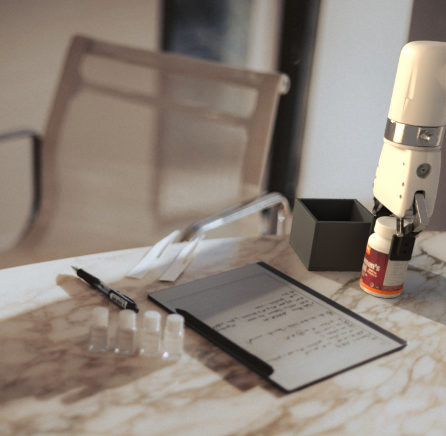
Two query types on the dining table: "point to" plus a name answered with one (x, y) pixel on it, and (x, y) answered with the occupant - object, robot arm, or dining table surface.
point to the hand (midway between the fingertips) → (388, 248)
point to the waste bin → (330, 233)
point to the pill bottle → (382, 262)
